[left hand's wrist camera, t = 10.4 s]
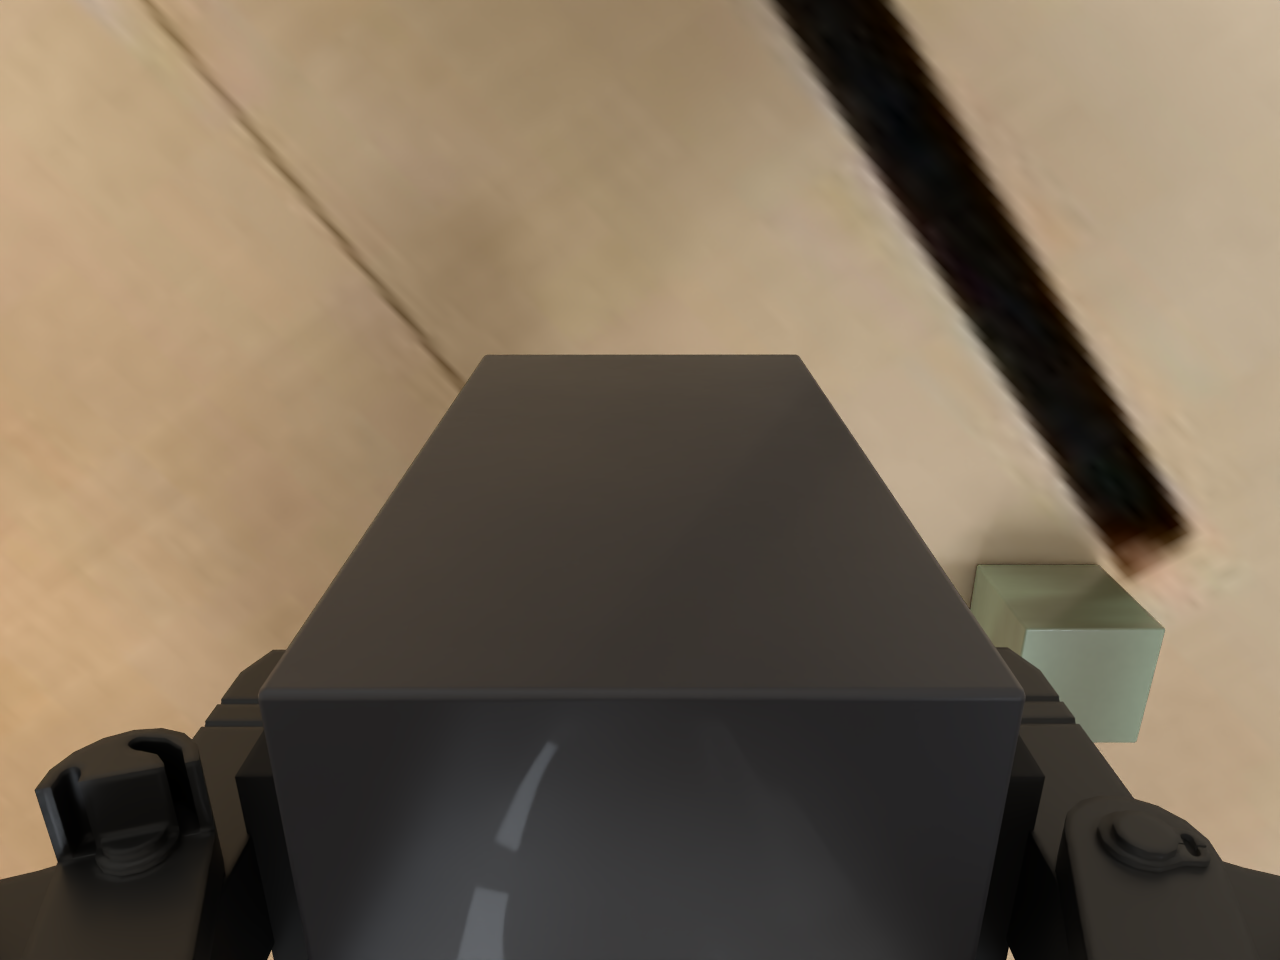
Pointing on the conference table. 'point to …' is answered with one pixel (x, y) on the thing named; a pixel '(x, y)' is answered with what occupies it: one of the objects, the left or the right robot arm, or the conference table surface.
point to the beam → (641, 688)
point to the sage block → (1075, 639)
